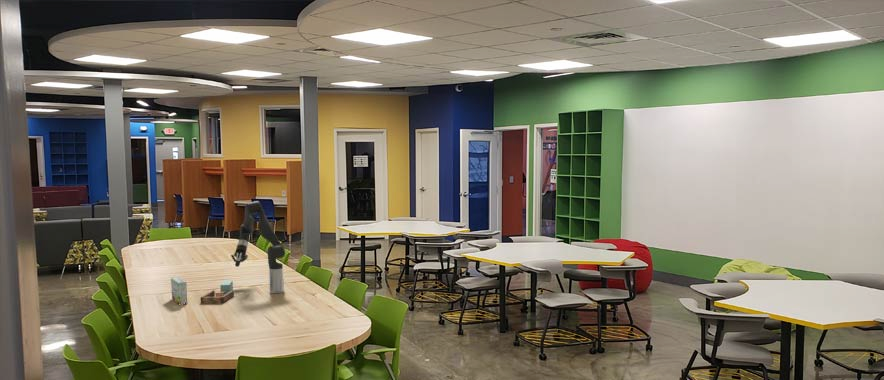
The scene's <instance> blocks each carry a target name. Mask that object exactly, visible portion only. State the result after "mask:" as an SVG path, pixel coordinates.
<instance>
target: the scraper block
mask: <svg viewBox="0 0 884 380" xmlns="http://www.w3.org/2000/svg"><path fill="white" fill-rule="evenodd" d="M219 286H220V291H225V293H226V294H227V293H228V292H230V291H231V290H234V283H233V280H223V281H222V283H221V284H220V285H219Z"/></svg>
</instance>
